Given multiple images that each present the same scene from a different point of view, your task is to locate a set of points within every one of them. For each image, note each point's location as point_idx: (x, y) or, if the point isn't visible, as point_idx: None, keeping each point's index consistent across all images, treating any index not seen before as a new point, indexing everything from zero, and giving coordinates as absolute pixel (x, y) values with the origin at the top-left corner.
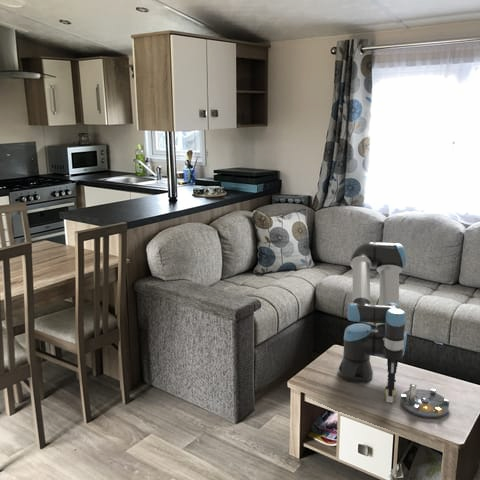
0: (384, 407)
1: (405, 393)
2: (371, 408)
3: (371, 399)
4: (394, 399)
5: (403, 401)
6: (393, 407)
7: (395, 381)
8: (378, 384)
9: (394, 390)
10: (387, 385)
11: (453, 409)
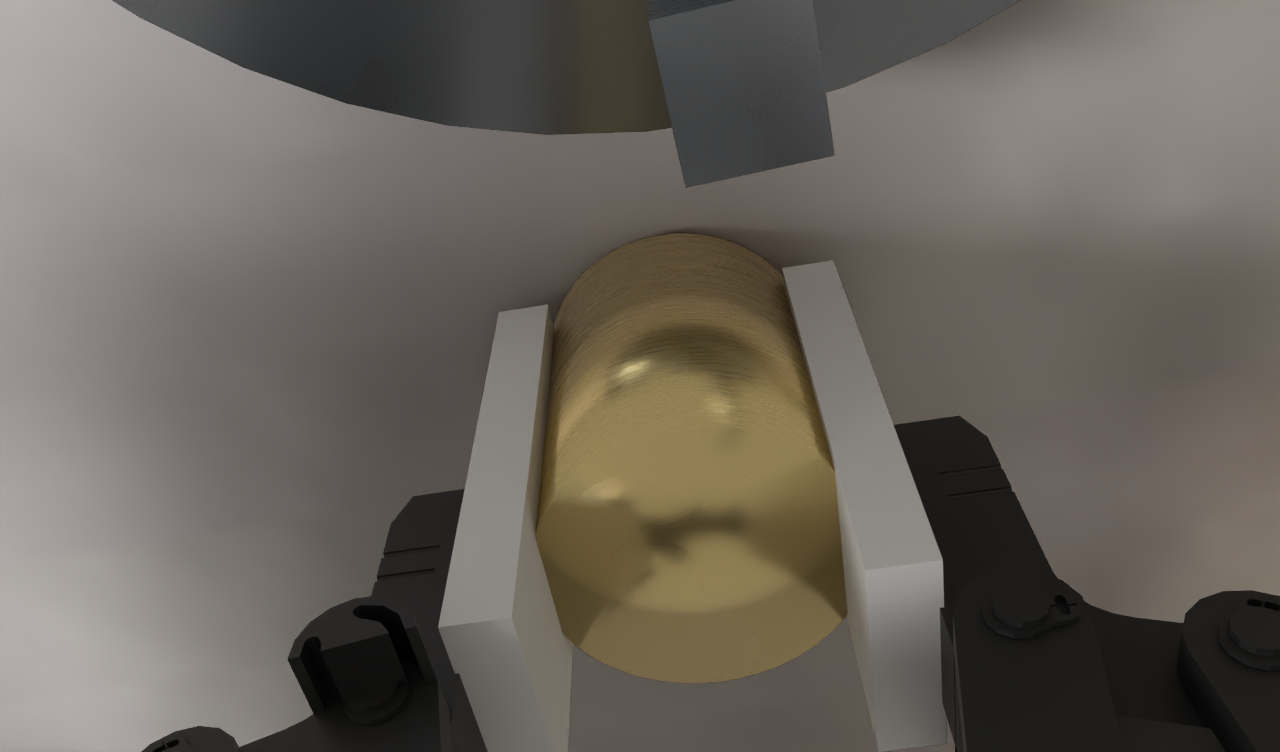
0: (1049, 389)
1: (344, 33)
2: (1160, 593)
3: None
4: (718, 267)
5: (930, 13)
6: (987, 205)
7: (419, 631)
8: (96, 644)
9: (737, 453)
10: (565, 684)
11: None
